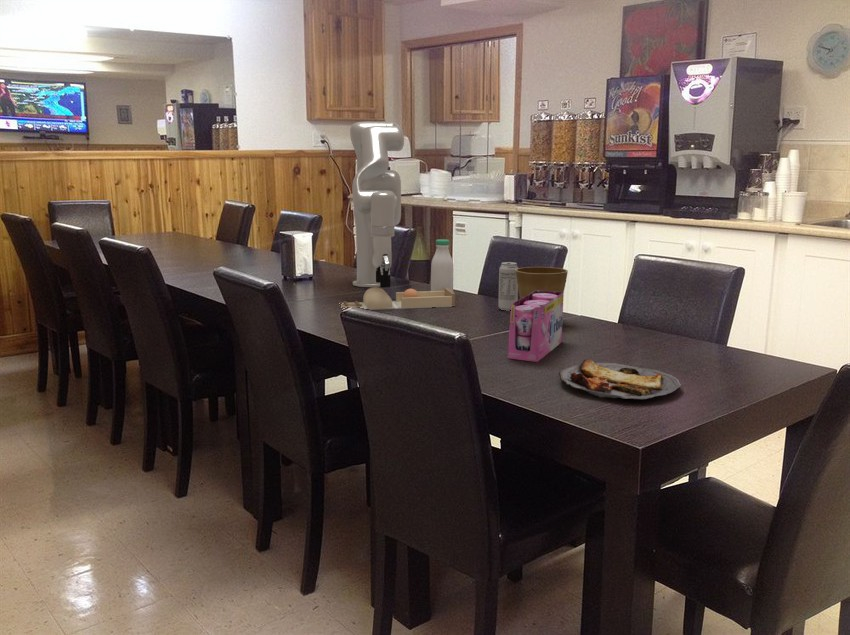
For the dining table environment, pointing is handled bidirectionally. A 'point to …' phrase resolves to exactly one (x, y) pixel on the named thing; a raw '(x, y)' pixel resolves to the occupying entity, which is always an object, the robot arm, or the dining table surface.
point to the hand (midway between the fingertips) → (382, 284)
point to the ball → (410, 293)
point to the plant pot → (540, 279)
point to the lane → (406, 300)
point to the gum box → (535, 325)
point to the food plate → (618, 380)
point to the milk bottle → (442, 267)
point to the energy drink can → (507, 285)
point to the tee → (351, 304)
